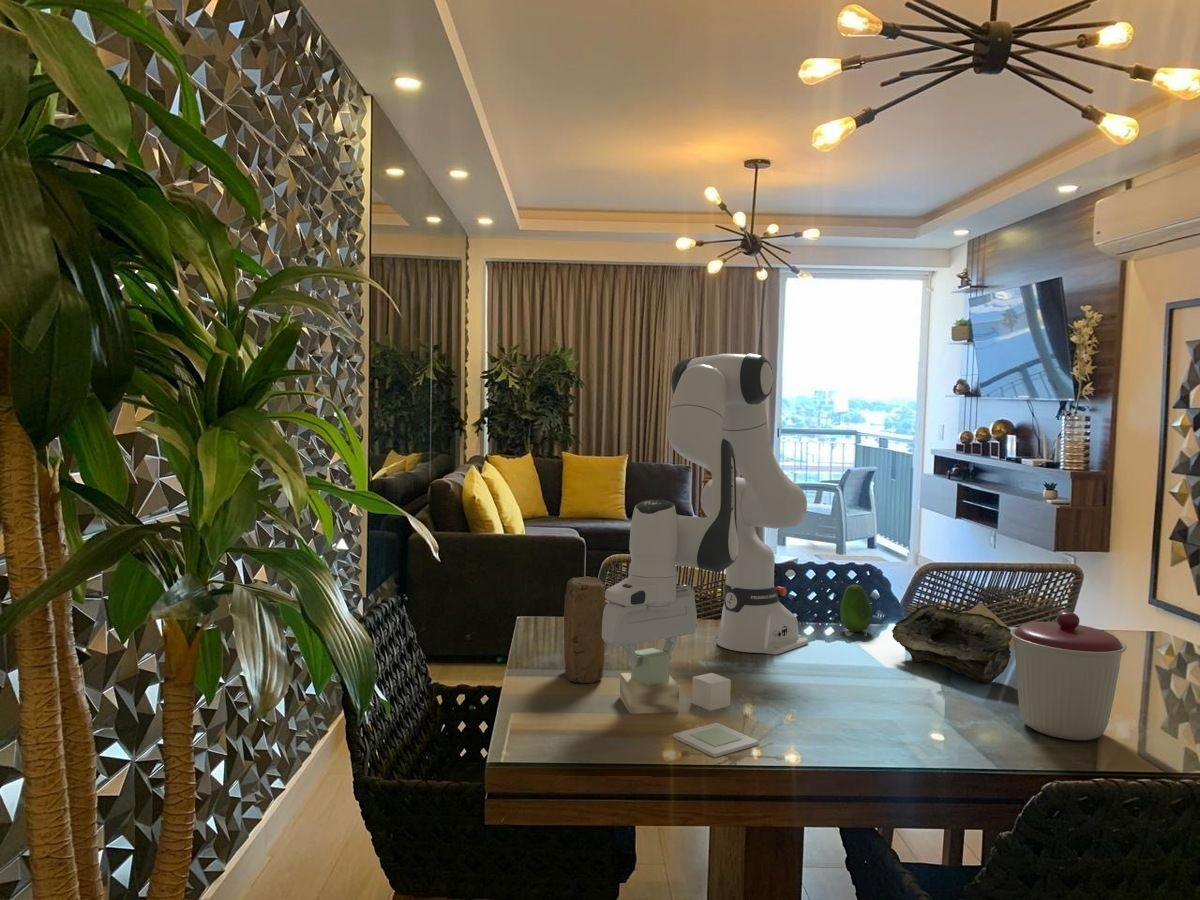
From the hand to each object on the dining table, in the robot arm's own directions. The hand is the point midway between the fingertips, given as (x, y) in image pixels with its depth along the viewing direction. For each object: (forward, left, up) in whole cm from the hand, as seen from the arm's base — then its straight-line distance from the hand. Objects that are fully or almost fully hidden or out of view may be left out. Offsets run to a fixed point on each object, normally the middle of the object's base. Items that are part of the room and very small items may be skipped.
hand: (649, 663), depth 165 cm
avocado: (-79, -15, -8) cm, 81 cm away
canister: (-54, +49, -8) cm, 73 cm away
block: (+1, -20, -8) cm, 22 cm away
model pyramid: (-99, +6, -8) cm, 99 cm away
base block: (0, 0, -8) cm, 8 cm away
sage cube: (0, 0, -3) cm, 3 cm away
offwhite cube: (-10, +6, -8) cm, 14 cm away
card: (+2, +20, -8) cm, 22 cm away
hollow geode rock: (-69, +18, -8) cm, 72 cm away
